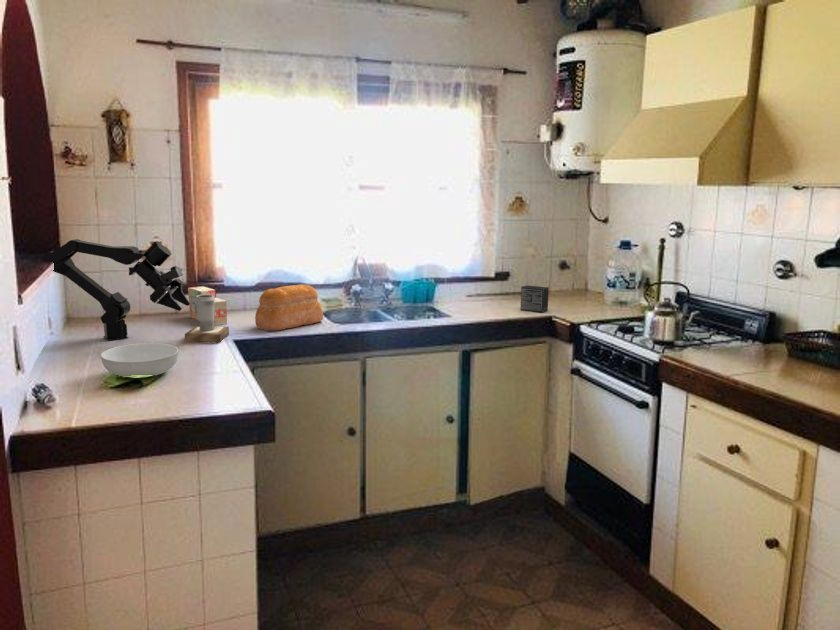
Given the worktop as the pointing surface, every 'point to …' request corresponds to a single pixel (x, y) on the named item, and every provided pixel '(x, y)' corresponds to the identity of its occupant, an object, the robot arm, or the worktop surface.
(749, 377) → the worktop surface
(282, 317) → the bread
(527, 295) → the small box
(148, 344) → the serving bowl
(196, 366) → the worktop surface
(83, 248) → the robot arm
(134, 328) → the worktop surface
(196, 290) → the stack of blocks
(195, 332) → the plinth
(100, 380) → the worktop surface
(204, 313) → the cup
